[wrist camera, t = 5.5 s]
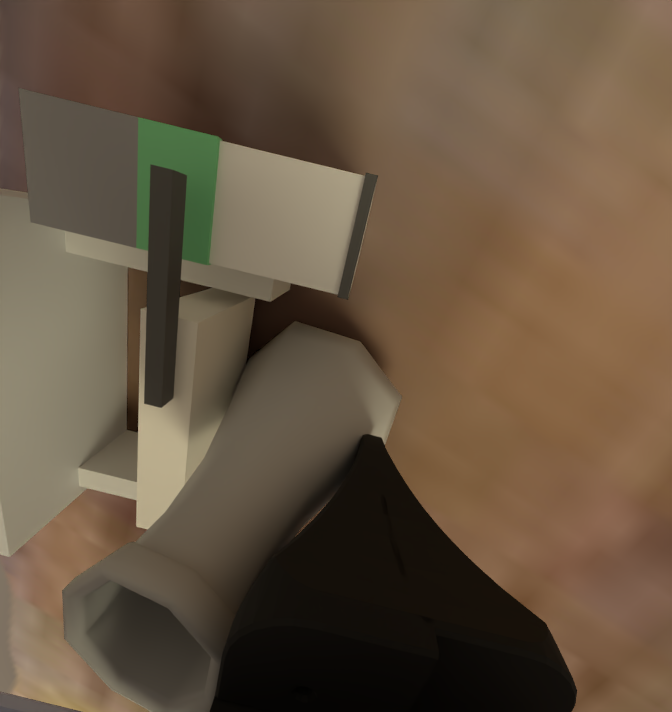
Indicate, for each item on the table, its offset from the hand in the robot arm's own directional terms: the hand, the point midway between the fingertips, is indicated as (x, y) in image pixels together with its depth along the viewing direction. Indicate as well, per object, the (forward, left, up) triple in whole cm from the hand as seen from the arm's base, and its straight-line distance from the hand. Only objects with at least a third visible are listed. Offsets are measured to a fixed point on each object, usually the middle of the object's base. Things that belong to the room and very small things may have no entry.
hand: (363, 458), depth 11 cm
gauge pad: (+2, +6, -4) cm, 8 cm away
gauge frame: (+1, +8, -4) cm, 9 cm away
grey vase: (0, +2, -4) cm, 4 cm away
